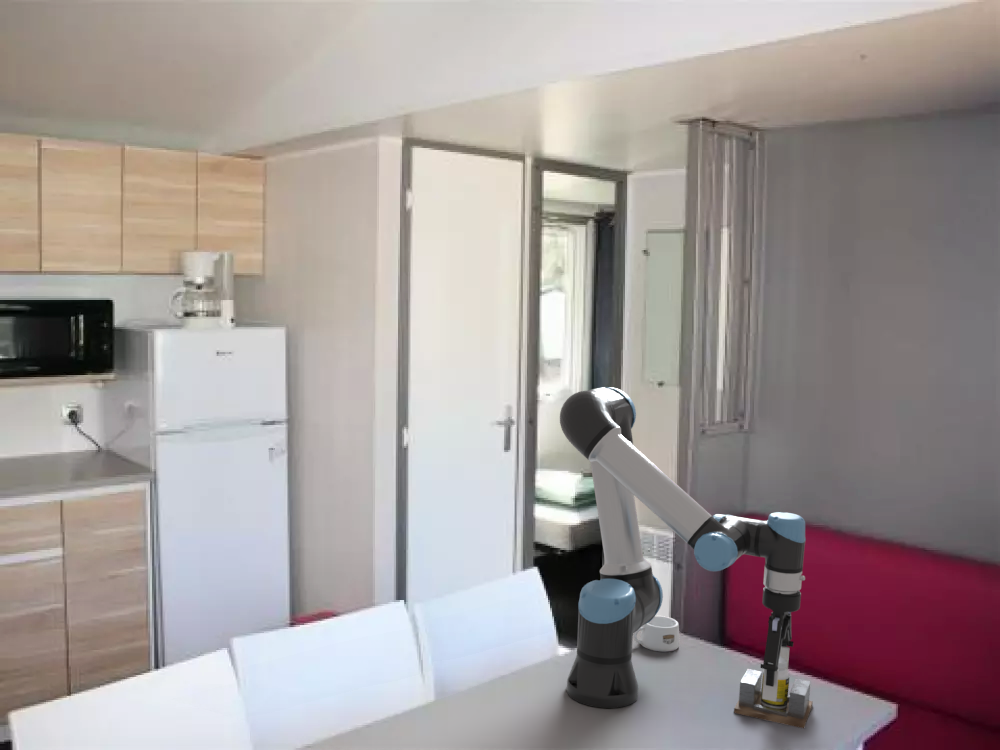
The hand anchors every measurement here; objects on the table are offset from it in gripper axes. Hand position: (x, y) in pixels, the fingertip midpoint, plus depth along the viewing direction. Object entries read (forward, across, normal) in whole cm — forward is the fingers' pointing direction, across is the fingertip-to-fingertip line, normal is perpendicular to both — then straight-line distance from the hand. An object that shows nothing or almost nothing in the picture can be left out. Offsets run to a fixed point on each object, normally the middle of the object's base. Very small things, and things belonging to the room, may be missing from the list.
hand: (775, 687), depth 203 cm
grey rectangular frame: (+5, 0, 0) cm, 5 cm away
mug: (+5, +22, +32) cm, 39 cm away
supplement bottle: (+4, 0, 0) cm, 4 cm away
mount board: (+5, 0, 0) cm, 5 cm away
